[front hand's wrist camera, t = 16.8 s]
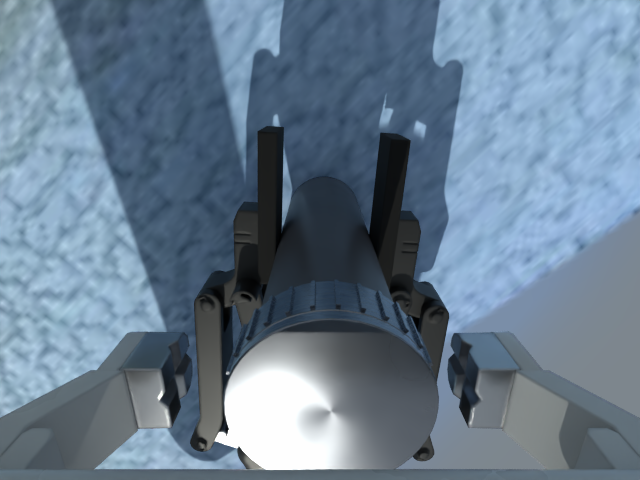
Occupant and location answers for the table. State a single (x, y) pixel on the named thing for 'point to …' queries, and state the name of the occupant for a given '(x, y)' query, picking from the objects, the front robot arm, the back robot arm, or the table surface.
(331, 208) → the dark grey cylinder
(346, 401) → the lid
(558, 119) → the table surface
